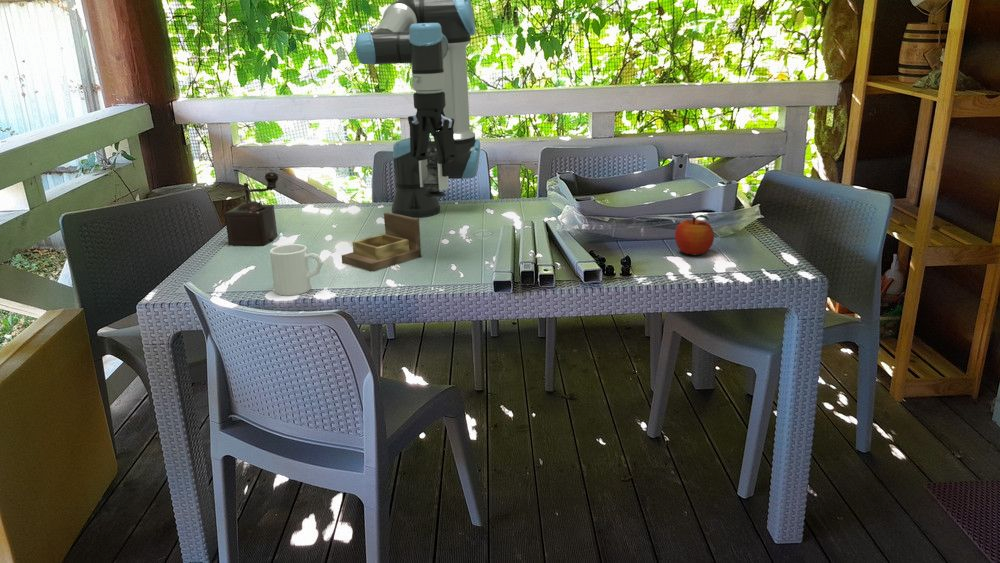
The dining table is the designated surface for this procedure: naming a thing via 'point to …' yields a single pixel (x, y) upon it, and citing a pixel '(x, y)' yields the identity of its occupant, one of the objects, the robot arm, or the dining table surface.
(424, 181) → the salt shaker
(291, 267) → the mug
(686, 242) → the fruit
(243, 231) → the manual coffee grinder
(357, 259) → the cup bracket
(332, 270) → the dining table surface
